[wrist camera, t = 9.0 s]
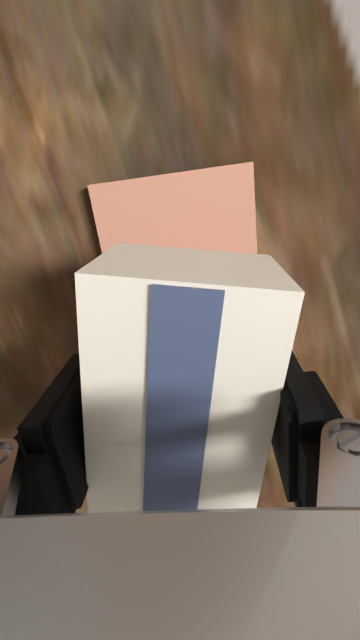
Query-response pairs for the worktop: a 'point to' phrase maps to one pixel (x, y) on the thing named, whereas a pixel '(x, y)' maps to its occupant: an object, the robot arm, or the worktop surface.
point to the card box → (181, 374)
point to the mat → (180, 210)
